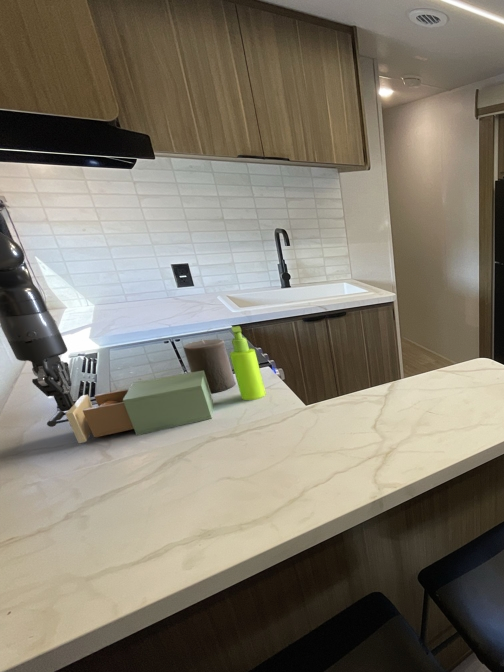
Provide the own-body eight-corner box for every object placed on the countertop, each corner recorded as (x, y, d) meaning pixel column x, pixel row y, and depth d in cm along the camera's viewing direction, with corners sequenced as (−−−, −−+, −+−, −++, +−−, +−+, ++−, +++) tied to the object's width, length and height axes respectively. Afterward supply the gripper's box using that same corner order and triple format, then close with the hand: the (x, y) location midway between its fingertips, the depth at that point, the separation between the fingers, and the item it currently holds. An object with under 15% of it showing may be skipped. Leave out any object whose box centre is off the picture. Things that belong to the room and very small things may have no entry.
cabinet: (136, 435, 93) (122, 400, 90) (145, 414, 103) (133, 382, 100) (211, 418, 100) (201, 385, 97) (213, 400, 110) (203, 370, 107)
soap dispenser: (243, 403, 108) (223, 331, 101) (240, 395, 114) (221, 326, 106) (267, 397, 111) (250, 327, 104) (264, 390, 117) (247, 323, 110)
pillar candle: (222, 393, 115) (207, 343, 110) (189, 394, 115) (172, 344, 110) (243, 380, 124) (230, 334, 119) (212, 381, 125) (198, 334, 119)
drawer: (51, 449, 86) (36, 419, 83) (68, 427, 95) (55, 400, 93) (156, 426, 95) (146, 398, 92) (162, 408, 104) (153, 383, 102)
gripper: (20, 331, 87) (55, 403, 93) (-8, 345, 77) (33, 425, 83) (68, 325, 91) (98, 395, 97) (47, 338, 80) (82, 415, 87)
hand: (68, 409), depth 90 cm, fingers closed
